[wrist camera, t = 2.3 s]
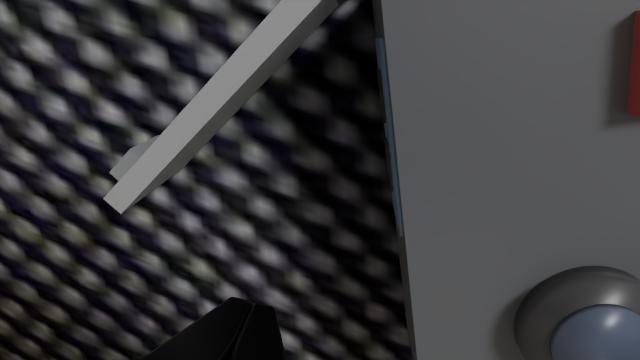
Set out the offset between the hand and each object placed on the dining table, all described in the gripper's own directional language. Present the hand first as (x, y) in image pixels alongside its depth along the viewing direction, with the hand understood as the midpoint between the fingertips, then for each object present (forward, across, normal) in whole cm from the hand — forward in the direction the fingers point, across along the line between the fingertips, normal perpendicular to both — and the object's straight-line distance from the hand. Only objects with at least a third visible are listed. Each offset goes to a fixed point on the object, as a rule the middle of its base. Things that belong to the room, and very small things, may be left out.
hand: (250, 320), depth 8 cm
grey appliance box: (+10, -8, -2) cm, 12 cm away
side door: (+9, +3, -3) cm, 10 cm away
